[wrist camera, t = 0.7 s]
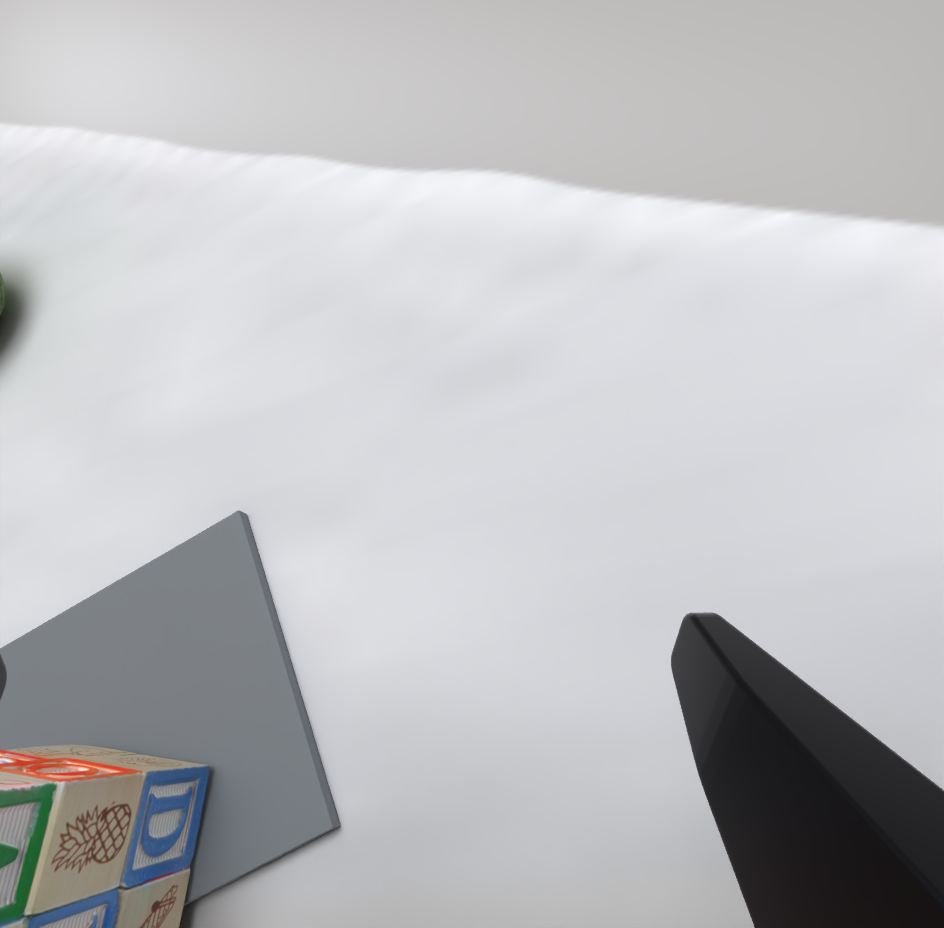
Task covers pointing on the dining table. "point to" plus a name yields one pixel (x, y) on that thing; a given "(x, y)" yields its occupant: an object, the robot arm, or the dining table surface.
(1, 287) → the avocado
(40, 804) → the stack of blocks
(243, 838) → the mat
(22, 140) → the dining table surface
